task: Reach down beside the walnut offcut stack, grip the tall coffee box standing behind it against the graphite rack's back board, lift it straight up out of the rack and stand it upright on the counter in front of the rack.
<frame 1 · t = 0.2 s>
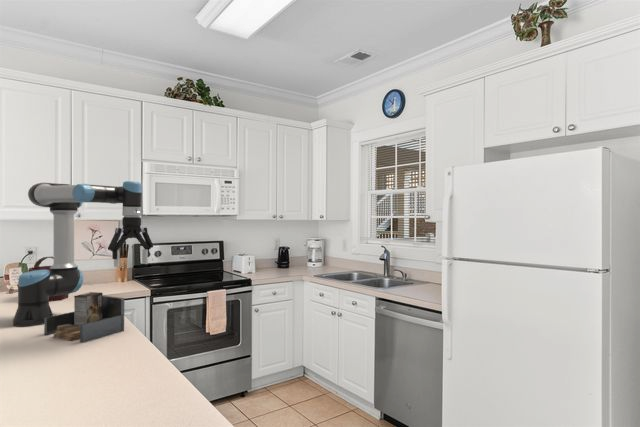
hand: (131, 265, 179), 28 cm above the counter, tool pointing down, fingers open, 13 cm apart
rack: (86, 332, 172), on the counter
coffee box: (88, 332, 173), resting in rack
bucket: (49, 299, 239), on the counter
offcut stack: (68, 337, 165), resting in rack
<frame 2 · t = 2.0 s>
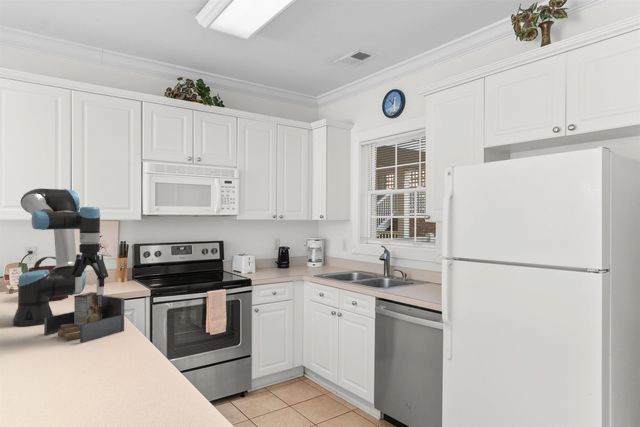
hand: (89, 293, 173), 16 cm above the counter, tool pointing down, fingers open, 13 cm apart
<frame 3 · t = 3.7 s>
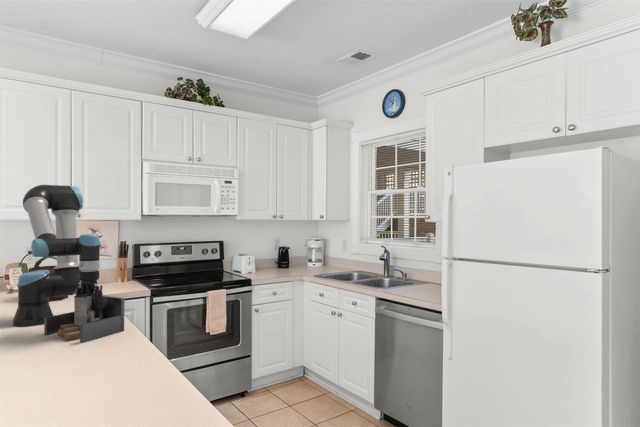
hand: (88, 324, 173), 3 cm above the counter, tool pointing down, fingers closed on coffee box, 7 cm apart
coffee box: (88, 332, 173), resting in rack, touching gripper
everything else where it was.
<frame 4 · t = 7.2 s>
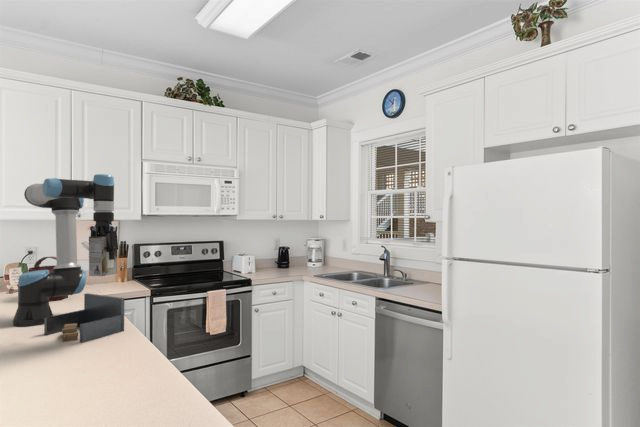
hand: (103, 267, 168), 28 cm above the counter, tool pointing down, fingers closed on coffee box, 7 cm apart
coffee box: (103, 275, 168), point 25 cm above the counter, touching gripper
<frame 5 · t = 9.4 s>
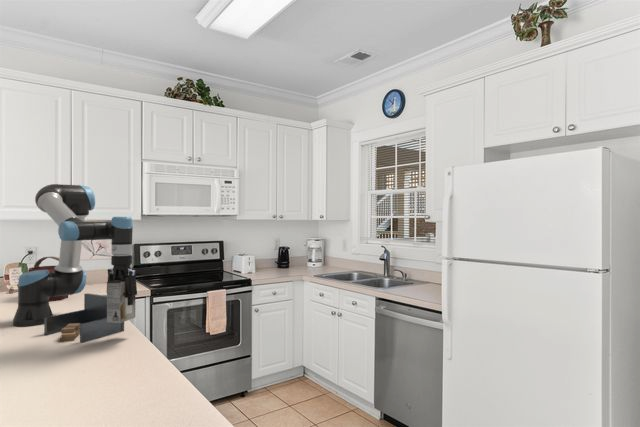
hand: (121, 312, 163), 11 cm above the counter, tool pointing down, fingers closed on coffee box, 7 cm apart
coffee box: (121, 320, 163), point 7 cm above the counter, touching gripper
when the fingers open (5 cm above the counter, at t = 11.0 s): coffee box drops 1 cm, on the counter.
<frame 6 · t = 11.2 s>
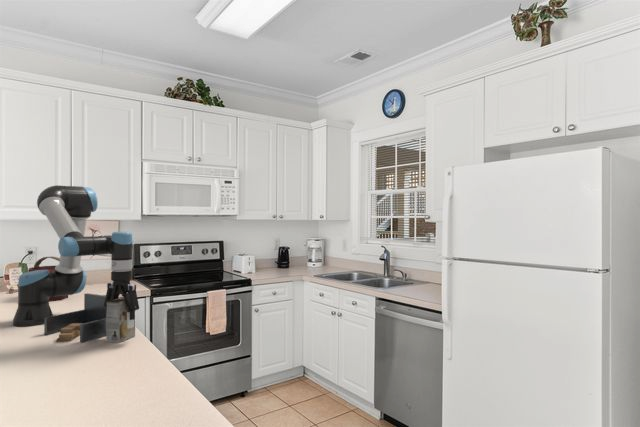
hand: (121, 326, 163), 5 cm above the counter, tool pointing down, fingers open, 10 cm apart
coffee box: (120, 339, 163), on the counter
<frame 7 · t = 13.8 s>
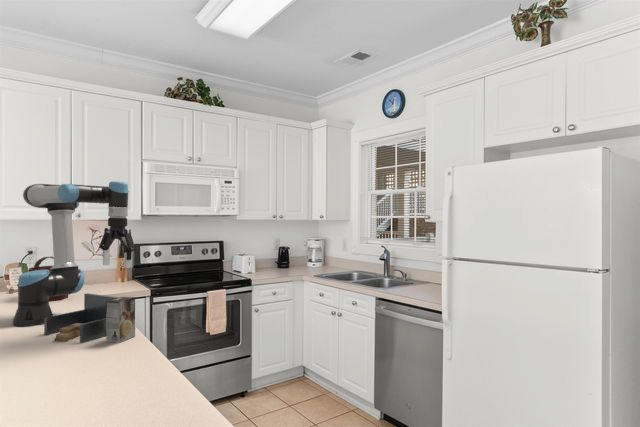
hand: (116, 266, 177), 27 cm above the counter, tool pointing down, fingers open, 13 cm apart
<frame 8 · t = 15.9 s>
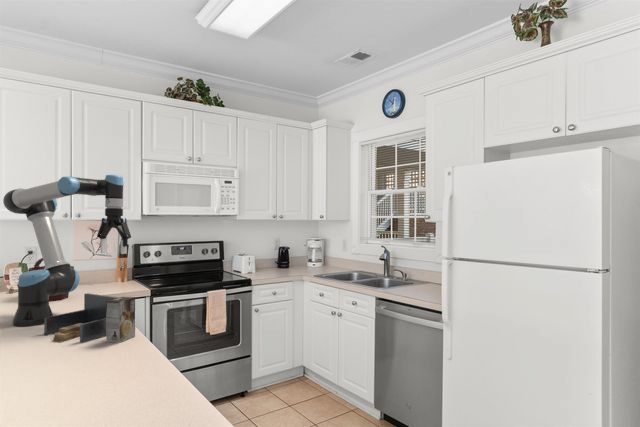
hand: (113, 253, 191), 32 cm above the counter, tool pointing down, fingers open, 13 cm apart
at the end: coffee box inside the target area (0.1 cm from its centre), on the counter; coffee box tilted 0°; offcut stack moved 1.1 cm from its start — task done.
